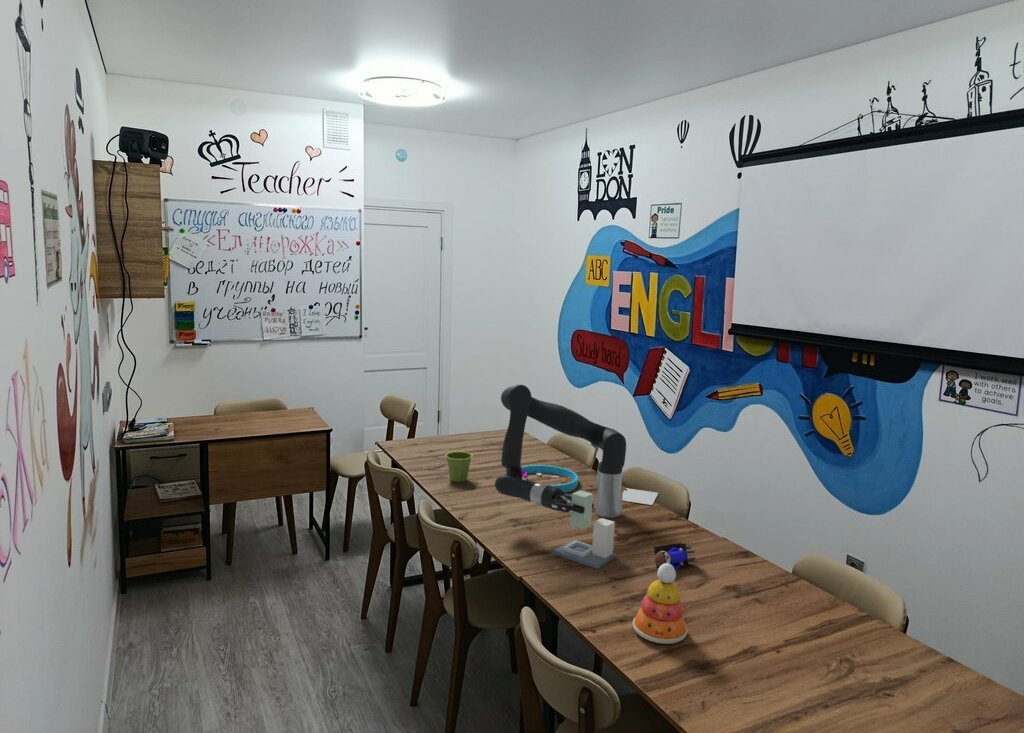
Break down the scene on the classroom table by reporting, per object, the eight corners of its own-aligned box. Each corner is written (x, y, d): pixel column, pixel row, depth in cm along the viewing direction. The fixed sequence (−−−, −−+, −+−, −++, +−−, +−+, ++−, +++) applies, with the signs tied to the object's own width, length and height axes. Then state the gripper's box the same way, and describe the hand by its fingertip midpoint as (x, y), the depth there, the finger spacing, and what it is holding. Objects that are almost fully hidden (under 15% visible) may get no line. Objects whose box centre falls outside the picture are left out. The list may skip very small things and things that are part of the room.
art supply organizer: (514, 470, 325) (514, 458, 324) (579, 476, 321) (579, 463, 320) (504, 491, 296) (505, 478, 295) (575, 497, 292) (576, 483, 291)
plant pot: (444, 475, 312) (445, 451, 310) (471, 476, 314) (471, 451, 312) (444, 484, 301) (445, 459, 299) (472, 484, 302) (473, 459, 300)
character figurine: (698, 569, 227) (659, 575, 222) (684, 558, 234) (646, 564, 228) (701, 547, 226) (662, 553, 220) (687, 536, 232) (649, 542, 226)
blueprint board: (572, 543, 243) (573, 536, 243) (615, 557, 233) (616, 550, 233) (553, 553, 234) (553, 546, 234) (597, 568, 224) (597, 561, 223)
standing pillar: (599, 549, 236) (601, 518, 234) (612, 553, 233) (614, 521, 231) (591, 553, 232) (593, 522, 230) (605, 558, 229) (607, 526, 227)
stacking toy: (627, 640, 182) (632, 569, 179) (637, 615, 195) (642, 548, 192) (683, 652, 177) (689, 580, 174) (690, 626, 190) (695, 558, 188)
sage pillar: (578, 521, 237) (580, 490, 235) (590, 525, 234) (593, 493, 232) (570, 525, 233) (572, 493, 231) (582, 529, 230) (584, 497, 228)
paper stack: (595, 498, 292) (595, 496, 292) (608, 481, 315) (608, 479, 315) (652, 506, 284) (652, 505, 284) (661, 488, 307) (661, 487, 307)
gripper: (534, 490, 235) (577, 502, 224) (558, 480, 246) (600, 492, 236) (533, 511, 236) (576, 525, 225) (557, 501, 247) (599, 513, 237)
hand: (588, 508), depth 231 cm, fingers closed on sage pillar, 5 cm apart
